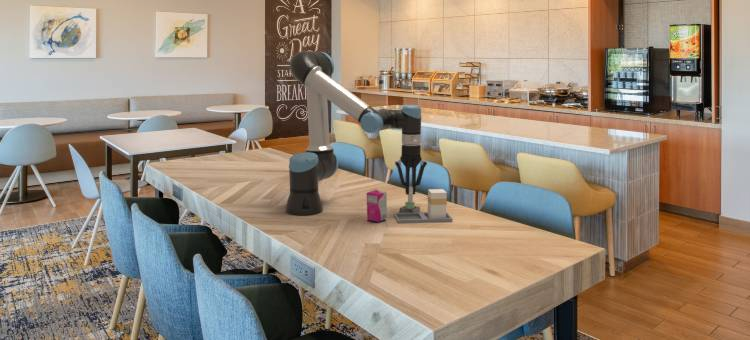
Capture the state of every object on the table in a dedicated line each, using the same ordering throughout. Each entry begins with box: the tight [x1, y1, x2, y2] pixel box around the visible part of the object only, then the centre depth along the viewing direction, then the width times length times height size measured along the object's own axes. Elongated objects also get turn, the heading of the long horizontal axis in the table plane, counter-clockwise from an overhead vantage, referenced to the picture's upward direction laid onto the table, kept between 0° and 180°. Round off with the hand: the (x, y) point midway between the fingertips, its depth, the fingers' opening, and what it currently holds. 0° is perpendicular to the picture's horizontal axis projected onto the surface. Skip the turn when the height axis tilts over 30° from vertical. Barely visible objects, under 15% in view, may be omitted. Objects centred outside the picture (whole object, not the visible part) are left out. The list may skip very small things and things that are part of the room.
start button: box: [404, 201, 416, 209], centre depth 234 cm, size 4×4×4 cm
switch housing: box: [399, 205, 421, 213], centre depth 234 cm, size 6×6×3 cm
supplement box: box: [366, 189, 388, 224], centre depth 225 cm, size 6×6×12 cm
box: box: [427, 188, 448, 219], centre depth 224 cm, size 6×6×11 cm
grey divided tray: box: [393, 211, 453, 224], centre depth 225 cm, size 21×10×2 cm, turn 97°
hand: (410, 202), depth 233 cm, fingers closed
